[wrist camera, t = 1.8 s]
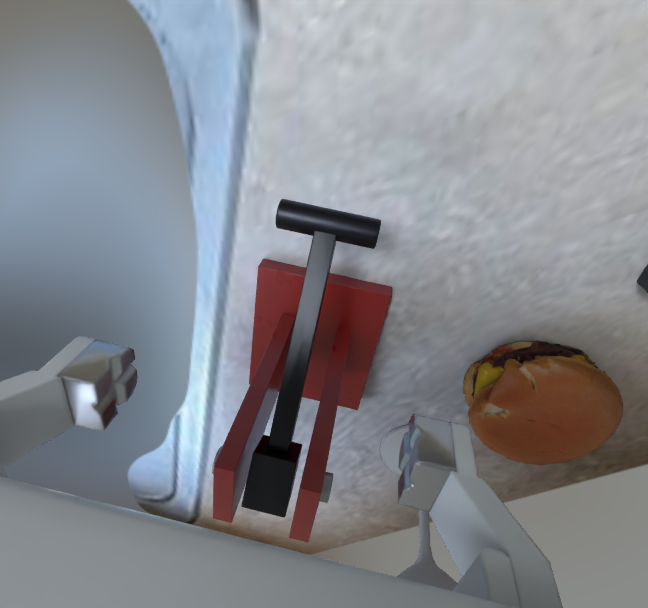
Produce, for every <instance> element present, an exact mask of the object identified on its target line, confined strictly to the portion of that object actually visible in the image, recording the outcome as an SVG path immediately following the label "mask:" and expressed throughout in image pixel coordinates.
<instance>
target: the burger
mask: <svg viewBox="0 0 648 608" xmlns="http://www.w3.org/2000/svg"><path fill="white" fill-rule="evenodd" d="M594 364H595V363H594V362H592V361H591V360H590V358H589V357H588V355H586V354H585V353H584V352H583V351H581V350H579V349H574V348H571V347H566V346H560V345H559V344H554V345H553V344H549V343H543V342H537V341H536V342H534V343H532V342H523V341H520V342H514V343H513V344H510V345H504V346H500V347H498V348H496V349H495V350H493V351H492V353H491V354H489V355H487V356H486V357H485V358H484V359H483V360H482V361H481V362H476V363H474V364H473V365H471V366H470V368H469V369H468V371H467V372H466V374H465V378H464V394H465V398H466V400H467V403H468V405H469V407H470V408H469V411H468V417H469V423H470V425H471V427H472V429H473V430H474V432H475V434H476V436H477V437H478V438H479V439H480V440H481V442H482V443H483V444H484V445H485V446H487V447H488V448H489V449H491V450H492V451H494V452H496V453H498V454H500V455H502V456H504V457H506V458H508V459H511V460H514V461H517V462H521V463H526V464H534V465H545V464H557V463H563V462H567V461H571V460H573V459H576V458H579V457H581V456H584V455H586V454H588V453H590V452H592V451H594V450H595V449H597V448H598V447H599V446H601V445H602V444H603V443H605V442H606V441H607V440H608V439H609V438H610V437H611V436H612V435H613V434H614V432H615V430H616V429H617V427H618V425H619V423H620V421H621V417H622V414H623V403H622V399H621V396H620V393H619V390H618V388H617V386H616V385H615V384H614V382H613V381H612V380H611V379H610V377H608V376H607V374H606V373H605V372H604V371H603V372H602V371H601V370H599V369H598V367H597V366H595V365H594Z"/></svg>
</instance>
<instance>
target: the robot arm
mask: <svg viewBox="0 0 648 608" xmlns="http://www.w3.org/2000/svg"><path fill="white" fill-rule="evenodd" d="M134 360H135V355H134V350H133V349H131V348H129V347H125V346H120V345H117V344H113V343H109V342H105V341H102V340H97V339H92V338H89V337H85V336H79V337H76V338H75V339H74V340H73V341H71V342H70V343H69V344H68V345H67V346H66V347H65V348H64V349H62V350H61V351H60V352H59V353H58V354H57V355H56V356H55V357H53V358H52V359H51V360H50V361H49V362H48V363H47V364H46V365H45V366H43V367H42V368H41V369H40V370H39V371H38V372H37V371H30V372H27V373H24V374H21V375H18V376H15V377H13V378H10V379H7V380H4V381H1V382H0V608H563V607H562V603H561V600H560V596H559V593H558V589H557V586H556V582H555V579H554V575H553V571H552V568H551V564H550V562H549V560H548V559H547V558H546V557H545V555H544V554H543V553H542V551H541V550H540V549H539V548H538V546H537V545H536V544H535V543H534V542H533V540H532V539H531V538H530V536H529V535H528V534H527V533H526V531H525V530H524V529H523V528H522V526H521V525H520V524H519V523H518V522H517V520H516V519H515V518H514V516H513V515H512V514H511V512H510V511H509V510H508V509H507V507H506V506H505V505H504V504H503V502H502V501H501V500H500V499H499V497H498V496H497V495H496V494H495V492H494V491H493V490H492V489H491V487H490V486H489V485H488V484H487V482H486V481H485V480H484V479H482V478H479V477H478V473H477V467H476V462H475V456H474V451H473V445H472V439H471V434H470V429H469V428H468V426H465V425H461V424H456V423H452V422H447V421H443V420H438V419H434V418H430V417H425V416H421V415H416V414H413V415H412V417H411V419H410V421H409V431H408V432H407V433H405V434H404V436H403V439H402V442H401V446H400V451H399V466H398V467H399V469H400V470H401V472H402V474H401V476H400V478H399V481H398V504H402V505H405V506H409V507H412V508H416V509H420V510H423V511H427V512H429V515H430V517H431V519H432V521H433V523H434V524H435V526H436V528H437V530H438V532H439V534H440V536H441V538H442V540H443V542H444V544H445V545H446V547H447V549H448V551H449V553H450V555H451V557H452V559H453V561H454V563H455V565H456V566H457V568H458V570H459V572H460V574H461V576H462V578H461V580H460V581H459V583H458V584H457V585H456V586H455V588H454V589H453V590H452V591H449V590H445V589H441V588H438V587H434V586H430V585H426V584H422V583H418V582H414V581H410V580H406V579H402V578H398V577H394V576H390V575H387V574H383V573H379V572H375V571H371V570H367V569H363V568H359V567H355V566H351V565H347V564H343V563H339V562H335V561H332V560H327V559H324V558H320V557H316V556H312V555H308V554H304V553H300V552H296V551H292V550H288V549H284V548H280V547H277V546H273V545H269V544H265V543H261V542H257V541H253V540H249V539H245V538H241V537H237V536H233V535H229V534H225V533H222V532H218V531H214V530H210V529H206V528H202V527H198V526H194V525H190V524H186V523H182V522H178V521H174V520H170V519H166V518H163V517H159V516H155V515H151V514H147V513H143V512H139V511H135V510H131V509H127V508H123V507H119V506H115V505H111V504H107V503H104V502H100V501H95V500H91V499H88V498H84V497H80V496H76V495H72V494H68V493H65V492H61V491H57V490H53V489H49V488H44V487H41V486H37V485H33V484H29V483H25V482H21V481H17V480H14V479H9V478H7V476H6V474H5V471H4V469H3V467H5V466H6V465H8V464H10V463H12V462H13V461H15V460H16V459H19V458H20V457H22V456H24V455H25V454H27V453H29V452H31V451H32V450H34V449H36V448H37V447H39V446H41V445H43V444H44V443H46V442H48V441H50V440H51V439H53V438H55V437H57V436H58V435H60V434H62V433H64V432H65V431H67V430H69V429H71V428H72V427H74V425H77V426H82V427H87V428H91V429H96V430H101V431H104V430H105V429H106V427H107V426H108V425H109V424H110V422H111V421H112V420H113V418H114V417H115V416H116V414H117V413H118V412H117V406H118V405H120V404H122V403H124V402H127V400H128V399H129V398H130V396H131V395H132V393H133V391H134V389H135V386H136V383H137V370H136V369H135V368H134V366H133V365H132V364H131V363H132V362H133V361H134Z"/></svg>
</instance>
